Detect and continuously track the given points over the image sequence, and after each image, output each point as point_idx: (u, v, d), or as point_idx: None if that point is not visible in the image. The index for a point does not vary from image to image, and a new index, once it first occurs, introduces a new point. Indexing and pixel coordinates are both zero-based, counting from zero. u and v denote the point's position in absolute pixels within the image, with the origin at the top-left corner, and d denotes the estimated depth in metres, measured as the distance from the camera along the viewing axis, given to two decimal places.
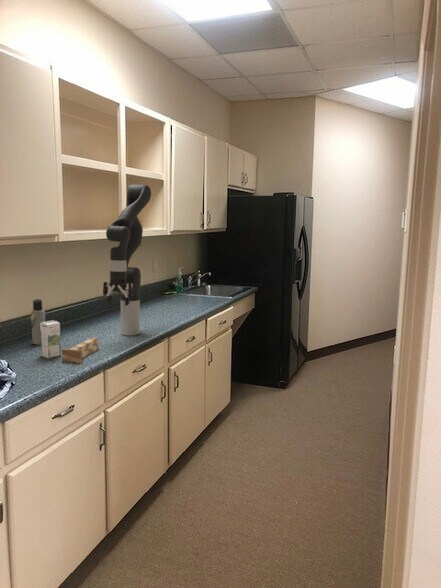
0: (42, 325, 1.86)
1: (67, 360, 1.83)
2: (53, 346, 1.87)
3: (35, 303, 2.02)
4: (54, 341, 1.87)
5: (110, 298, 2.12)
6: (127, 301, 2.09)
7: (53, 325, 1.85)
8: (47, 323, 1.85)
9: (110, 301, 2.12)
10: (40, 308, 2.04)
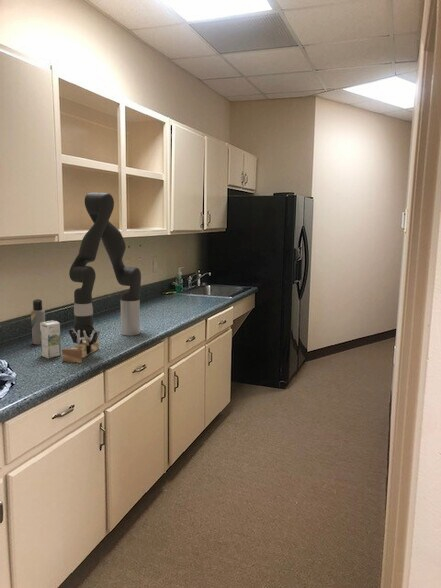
0: (42, 325, 1.86)
1: (67, 360, 1.83)
2: (53, 346, 1.87)
3: (35, 303, 2.02)
4: (54, 341, 1.87)
5: None
6: (88, 349, 1.91)
7: (53, 325, 1.85)
8: (47, 323, 1.85)
9: None
10: (40, 308, 2.04)
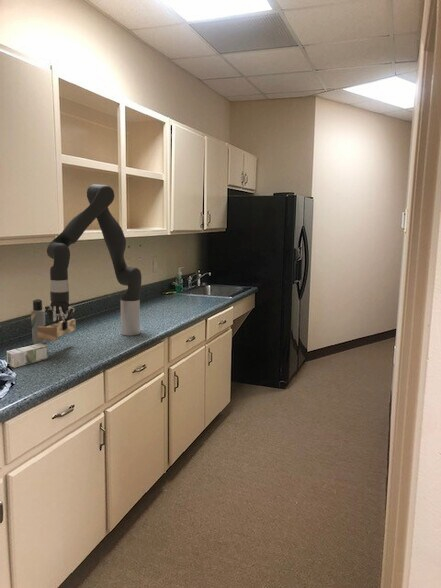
0: None
1: (42, 338, 1.86)
2: (37, 356, 1.81)
3: (35, 303, 2.02)
4: (32, 356, 1.80)
5: None
6: (64, 326, 1.94)
7: (16, 360, 1.74)
8: (11, 364, 1.75)
9: None
10: (40, 308, 2.04)
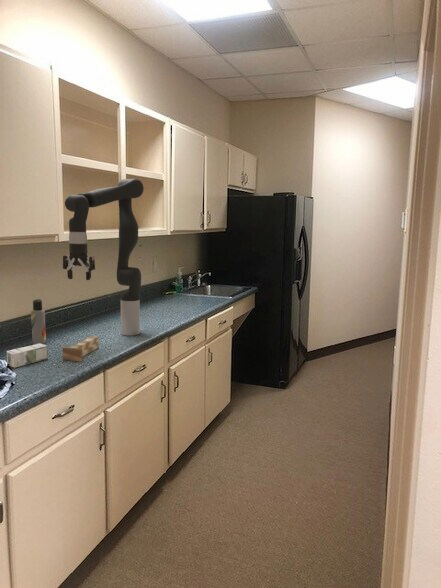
0: None
1: (67, 358, 1.85)
2: (37, 356, 1.81)
3: (35, 303, 2.02)
4: (32, 356, 1.80)
5: (71, 272, 2.00)
6: (88, 275, 1.98)
7: (16, 360, 1.74)
8: (11, 364, 1.75)
9: (71, 276, 2.00)
10: (40, 308, 2.04)
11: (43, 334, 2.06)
